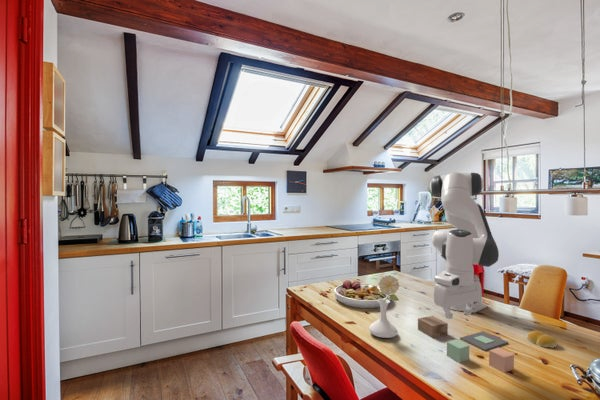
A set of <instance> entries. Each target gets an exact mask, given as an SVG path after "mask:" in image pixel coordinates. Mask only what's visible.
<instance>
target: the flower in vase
mask: <svg viewBox="0 0 600 400" xmlns="http://www.w3.org/2000/svg"><path fill="white" fill-rule="evenodd" d="M377 286H379V288H380V291H381V292H382V293H385V294H386V295H388V297H390V301H389V300H387V298H388V297H387V298H386V297H385V296H384V295H382V294H380V293H379V292H378V293H379V294H380V295H382V296H383V297H385V298H386V299H378V300H377V301H378V303H379V305H380V307H379V309H380V316H379V319H377V320H375V321H374V322H372V323H371V324H369V327H368V330H369V332H370V334H371V335H373V336H376V337H377V338H382V339H383V338H384V339H385V338H386V339H390V338H394V337H396V336H397V335H398V334H399V331H398V328H397V327H396V326H395V325H394V324H393V323H391V322H390V321H389V320H388V317H387V308H388V307H389V304H390V303H391V301H392V302H394V301H396V302H397V301H400V299H399V298H398V297H397V295H396V293H397V291H398V290H399V288H400V286H401V285H400V282H399V279H398V278H397V277H395V276H393V275H391V274H388V275H387V274H386V275H385V276H382V277H381V279H379V281H378V284H377ZM390 294H391V295H390Z"/></svg>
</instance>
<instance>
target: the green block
mask: <svg viewBox="0 0 600 400" xmlns="http://www.w3.org/2000/svg"><path fill="white" fill-rule="evenodd" d="M446 357H448V358H450V359H451V360H453V361H455V362H457V363H459V364H460V363H463V362H466V361H469V360H470V344H468V343H466V342H464V341H462V340H459V339H453V340H449V341H446Z"/></svg>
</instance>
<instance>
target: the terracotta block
mask: <svg viewBox="0 0 600 400" xmlns="http://www.w3.org/2000/svg"><path fill="white" fill-rule="evenodd" d="M488 355H489V356H488V366H490V367H492V368H494V369H496V370H498V371H500V372H501V373H504V374H505V373H507V371H508V372H510V370H511V371H513V370H514V369H515V354H514V353H512V352H509V351H507V350H506V349H502V348H501V347H500V346H499V347H496V348H493V349H490V350H488Z"/></svg>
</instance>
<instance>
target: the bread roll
mask: <svg viewBox="0 0 600 400" xmlns="http://www.w3.org/2000/svg"><path fill="white" fill-rule="evenodd" d="M526 338H527V339H528V340H529V342H531V343H532V342H533V343H532V344H536V345H537V344H538V346H539V345H540V346H539V347H542V346H543V347H542V348H547V347H551V348H550V349H554V347H555V348H557V346H558V341H557V339H556V338H554V337H553V336H551V335H548V334H546V333H543V331H540V330H532V331H530V332H528V333H527V334H526Z"/></svg>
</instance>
